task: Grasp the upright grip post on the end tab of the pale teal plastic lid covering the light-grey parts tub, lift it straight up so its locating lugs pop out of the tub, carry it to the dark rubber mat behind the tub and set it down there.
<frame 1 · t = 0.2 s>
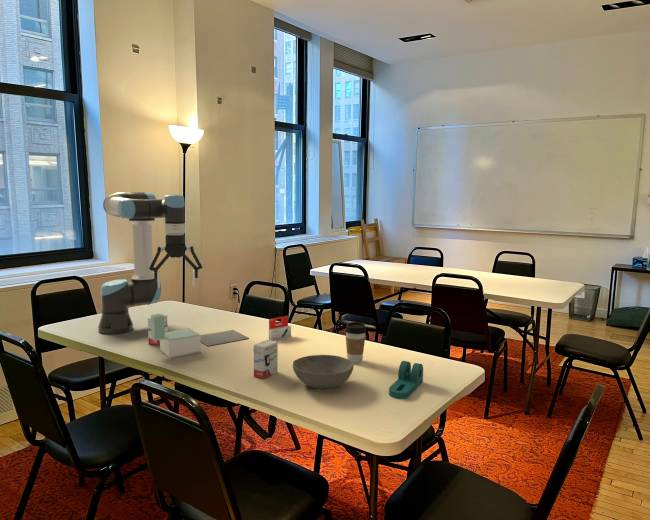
hand: (176, 286, 199), 28 cm above the table, fingers open, 13 cm apart
ink box 2: (265, 374, 181), on the table
coffee cup: (354, 361, 196), on the table
ink box: (158, 342, 217), on the table
bowl: (322, 385, 172), on the table
bracket: (404, 390, 169), on the table
lid: (174, 325, 201), point 12 cm above the table, touching tub
mat: (221, 338, 224), on the table
ink box 3: (280, 338, 225), on the table
tub: (180, 351, 204), on the table
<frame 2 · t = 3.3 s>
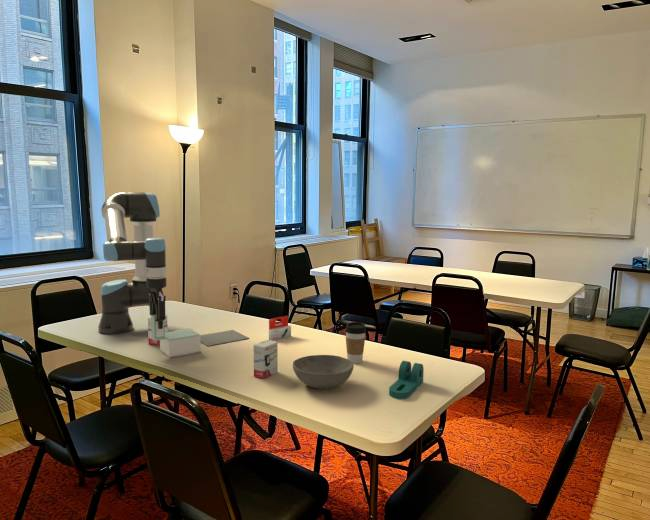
hand: (158, 334, 198), 9 cm above the table, fingers closed on lid, 4 cm apart
lid: (174, 325, 201), point 12 cm above the table, touching gripper, tub
everything else where it was.
when the fingers open (5 cm above the table, at t = 9.8 s): lid drops 2 cm, resting on mat.
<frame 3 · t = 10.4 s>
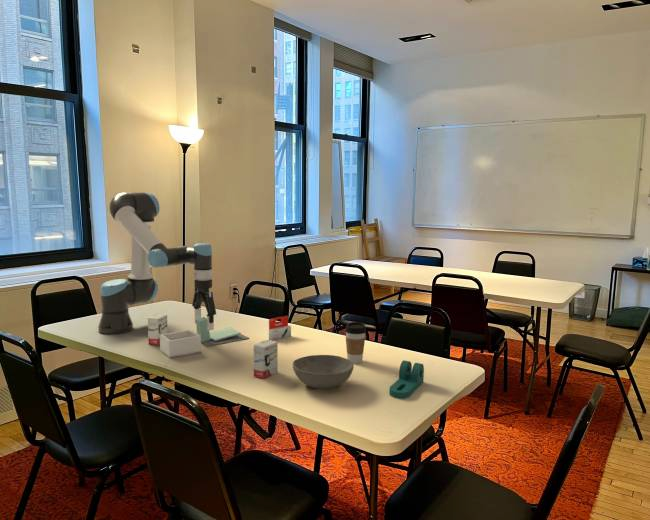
hand: (204, 326, 218), 7 cm above the table, fingers open, 13 cm apart
lid: (216, 326, 222), resting on mat, tilted 6°
everything else where it was.
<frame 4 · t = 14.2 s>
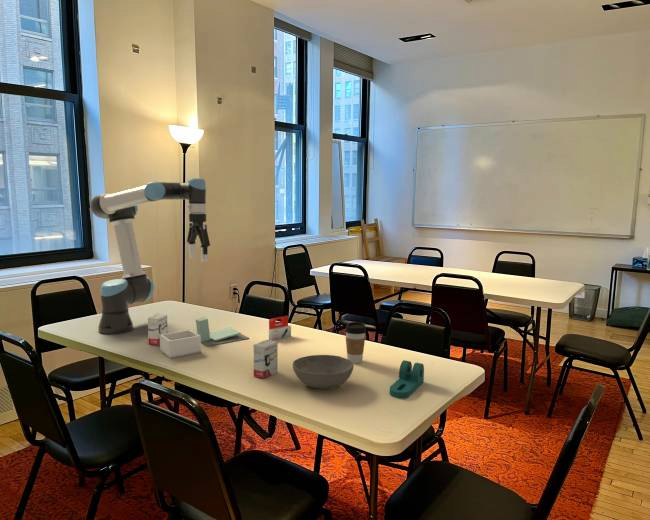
hand: (198, 259, 226), 35 cm above the table, fingers open, 13 cm apart
nothing on the table moved.
at the end: lid inside the target area (0.1 cm from its centre), resting on mat; lid touching mat; the gripper is holding nothing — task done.
